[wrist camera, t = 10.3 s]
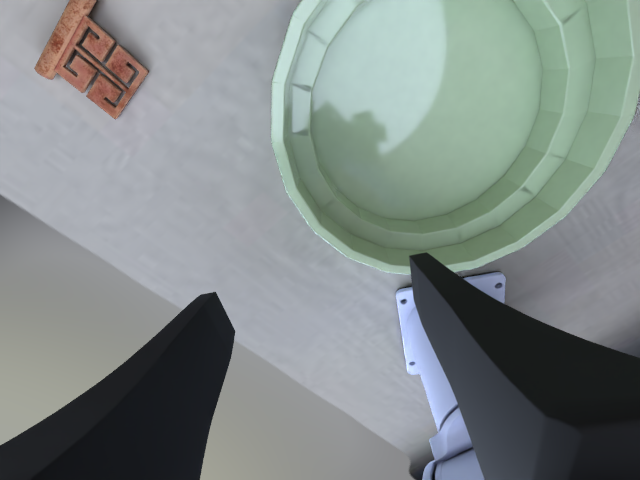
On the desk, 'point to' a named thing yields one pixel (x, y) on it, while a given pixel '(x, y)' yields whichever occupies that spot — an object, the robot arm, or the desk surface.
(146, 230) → the desk surface
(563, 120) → the bowl
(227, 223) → the desk surface
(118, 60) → the key
